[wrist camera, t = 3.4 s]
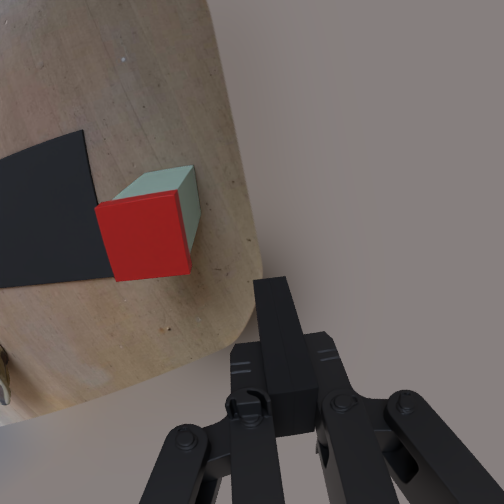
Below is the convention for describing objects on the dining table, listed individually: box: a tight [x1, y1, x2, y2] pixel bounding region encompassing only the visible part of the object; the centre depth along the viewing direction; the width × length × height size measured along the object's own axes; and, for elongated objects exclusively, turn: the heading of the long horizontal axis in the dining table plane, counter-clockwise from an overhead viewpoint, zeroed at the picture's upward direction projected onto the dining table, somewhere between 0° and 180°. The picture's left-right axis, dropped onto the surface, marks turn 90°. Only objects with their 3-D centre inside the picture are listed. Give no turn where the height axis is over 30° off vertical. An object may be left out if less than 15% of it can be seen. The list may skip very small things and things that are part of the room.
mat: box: [0, 130, 114, 288], centre depth 35 cm, size 30×20×1 cm, turn 96°
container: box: [95, 165, 201, 282], centre depth 29 cm, size 7×7×14 cm
